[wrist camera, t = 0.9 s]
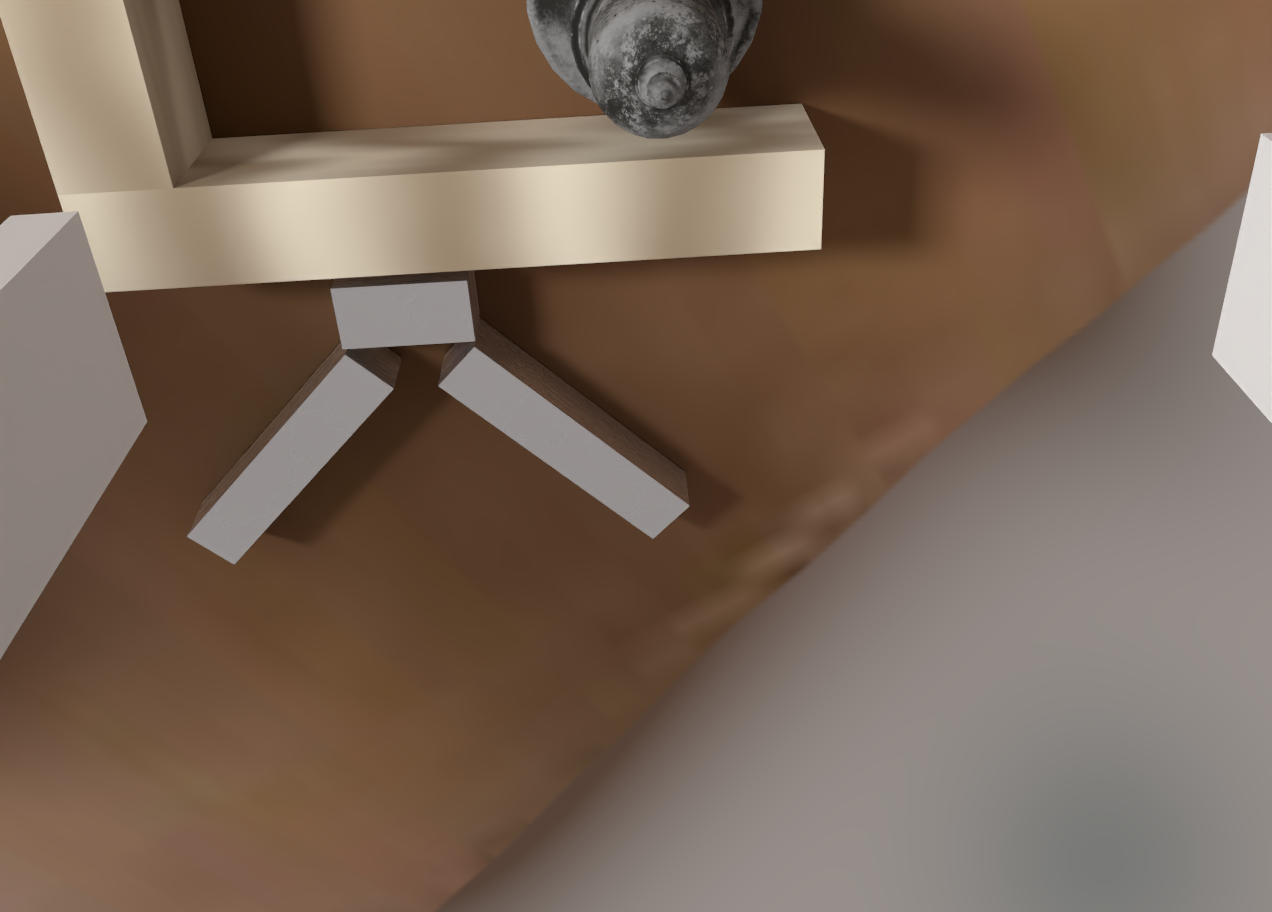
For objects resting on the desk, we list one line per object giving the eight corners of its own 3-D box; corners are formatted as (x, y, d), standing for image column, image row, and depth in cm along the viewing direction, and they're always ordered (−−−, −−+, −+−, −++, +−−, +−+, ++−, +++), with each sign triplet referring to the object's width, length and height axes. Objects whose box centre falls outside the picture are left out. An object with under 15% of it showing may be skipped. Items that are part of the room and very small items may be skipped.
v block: (134, 273, 37) (113, 301, 35) (678, 240, 37) (682, 267, 36) (211, 531, 42) (196, 567, 41) (686, 502, 43) (690, 536, 41)
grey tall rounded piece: (776, 25, 34) (858, 176, 24) (583, 107, 35) (583, 284, 25) (702, -195, 31) (761, -129, 21) (493, -99, 32) (452, 9, 22)
